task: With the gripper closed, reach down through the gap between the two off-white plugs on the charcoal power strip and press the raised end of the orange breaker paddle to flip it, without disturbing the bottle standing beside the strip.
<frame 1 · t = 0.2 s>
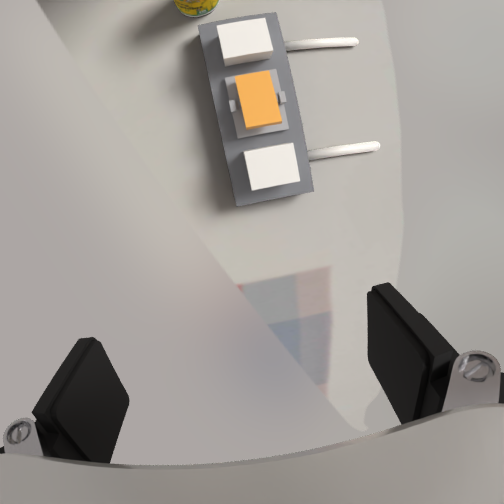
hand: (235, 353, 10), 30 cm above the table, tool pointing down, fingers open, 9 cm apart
supplement bottle: (197, 1, 30), on the table
power strip: (255, 106, 35), on the table
breaker paddle: (257, 99, 30), point 5 cm above the table, hinge at -15.0°
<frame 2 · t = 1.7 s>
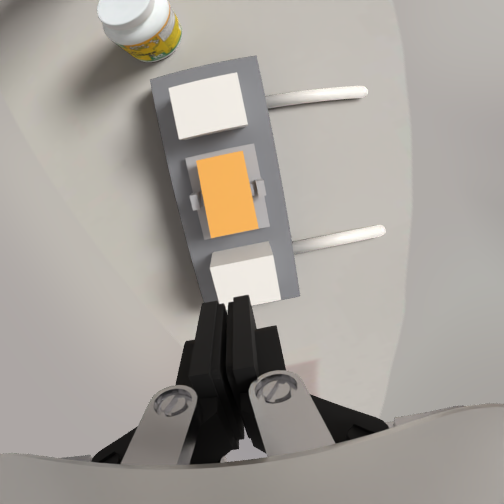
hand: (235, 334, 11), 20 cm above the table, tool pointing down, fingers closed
supplement bottle: (155, 39, 24), on the table
power strip: (229, 186, 29), on the table
breaker paddle: (227, 194, 24), point 5 cm above the table, hinge at -15.0°
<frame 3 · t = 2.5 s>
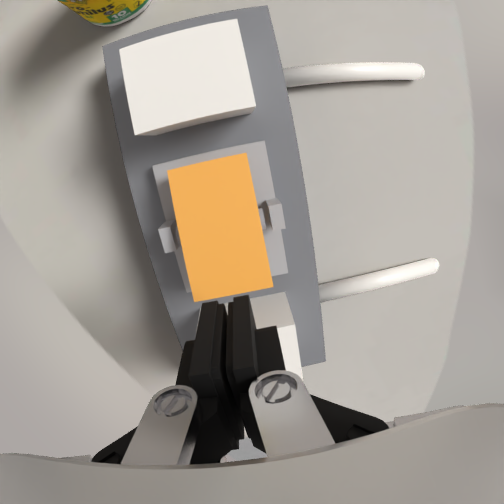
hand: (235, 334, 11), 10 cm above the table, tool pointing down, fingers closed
power strip: (224, 205, 19), on the table
breaker paddle: (220, 227, 14), point 5 cm above the table, hinge at -15.0°
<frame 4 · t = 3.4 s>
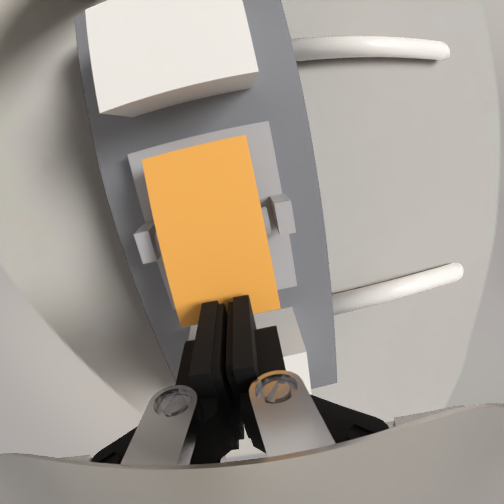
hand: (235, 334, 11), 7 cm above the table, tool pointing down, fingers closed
power strip: (219, 202, 16), on the table
breaker paddle: (212, 232, 11), point 5 cm above the table, hinge at -11.5°, touching gripper
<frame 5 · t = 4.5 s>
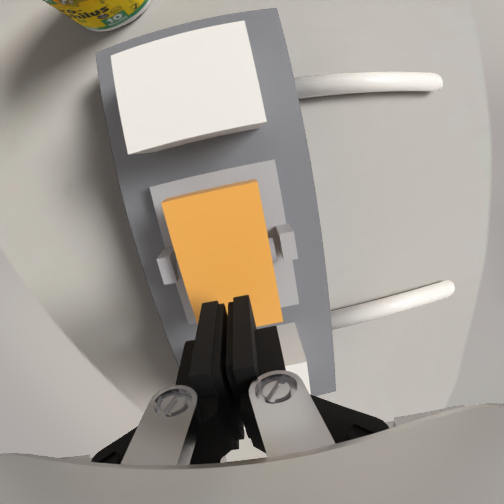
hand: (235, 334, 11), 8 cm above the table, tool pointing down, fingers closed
power strip: (229, 227, 18), on the table
breaker paddle: (226, 260, 13), point 5 cm above the table, hinge at 2.7°
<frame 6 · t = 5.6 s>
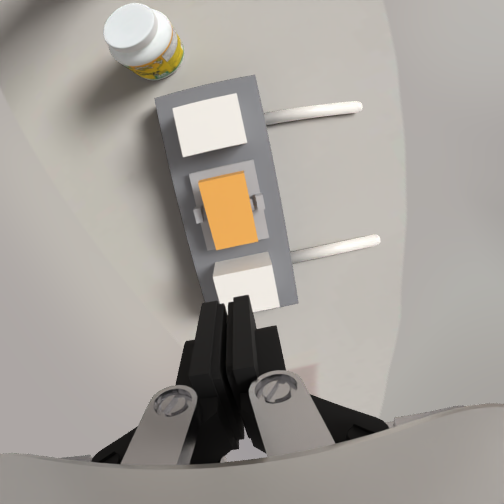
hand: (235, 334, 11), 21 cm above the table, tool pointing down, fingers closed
supplement bottle: (158, 57, 26), on the table
power strip: (230, 199, 31), on the table
breaker paddle: (229, 210, 26), point 5 cm above the table, hinge at 10.9°
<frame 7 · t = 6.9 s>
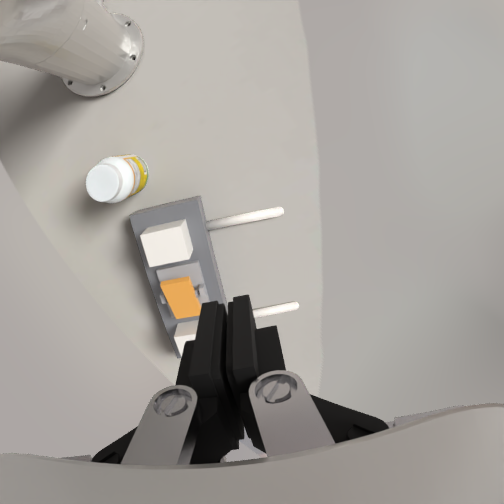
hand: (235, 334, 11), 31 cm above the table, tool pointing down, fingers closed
supplement bottle: (131, 174, 39), on the table
power strip: (187, 279, 44), on the table
breaker paddle: (182, 297, 39), point 5 cm above the table, hinge at 17.0°
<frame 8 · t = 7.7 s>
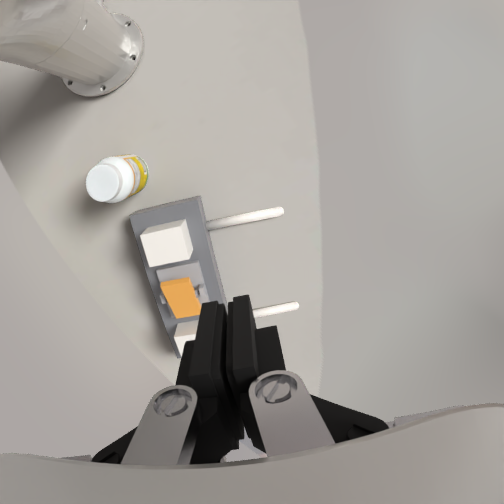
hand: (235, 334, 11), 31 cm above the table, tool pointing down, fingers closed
supplement bottle: (131, 174, 39), on the table
power strip: (187, 279, 44), on the table
breaker paddle: (182, 297, 39), point 5 cm above the table, hinge at 19.5°
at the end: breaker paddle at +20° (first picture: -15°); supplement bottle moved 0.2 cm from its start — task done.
